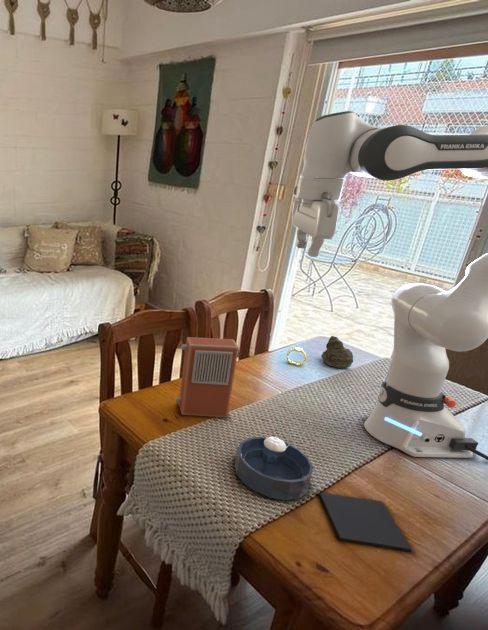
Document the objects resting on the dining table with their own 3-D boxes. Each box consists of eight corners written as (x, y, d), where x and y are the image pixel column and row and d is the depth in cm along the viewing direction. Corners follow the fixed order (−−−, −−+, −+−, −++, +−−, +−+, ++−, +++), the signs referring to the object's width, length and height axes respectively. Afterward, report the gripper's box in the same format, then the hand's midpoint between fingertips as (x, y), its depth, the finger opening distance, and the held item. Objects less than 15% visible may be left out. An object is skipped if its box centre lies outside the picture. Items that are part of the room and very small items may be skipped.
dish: (297, 459, 105) (301, 441, 103) (317, 506, 91) (322, 486, 89) (230, 450, 108) (233, 433, 106) (240, 494, 94) (244, 475, 92)
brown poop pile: (353, 342, 156) (321, 336, 159) (363, 335, 145) (329, 330, 148) (349, 373, 154) (317, 367, 157) (359, 368, 143) (324, 362, 147)
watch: (284, 363, 153) (288, 348, 151) (285, 360, 155) (288, 345, 153) (304, 367, 150) (307, 352, 148) (304, 364, 152) (308, 349, 150)
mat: (381, 503, 92) (381, 501, 92) (410, 551, 81) (411, 549, 81) (319, 494, 94) (319, 492, 94) (339, 540, 83) (340, 537, 83)
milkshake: (282, 485, 96) (290, 447, 93) (256, 476, 99) (263, 439, 95) (284, 473, 100) (293, 436, 96) (259, 464, 102) (267, 428, 99)
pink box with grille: (174, 403, 128) (226, 406, 126) (177, 416, 121) (232, 420, 120) (181, 335, 120) (237, 338, 119) (185, 345, 114) (244, 349, 112)
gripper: (352, 195, 88) (336, 262, 93) (319, 188, 107) (308, 244, 112) (318, 194, 89) (304, 261, 94) (291, 187, 108) (281, 243, 113)
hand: (306, 251), depth 103 cm, fingers open, 8 cm apart
